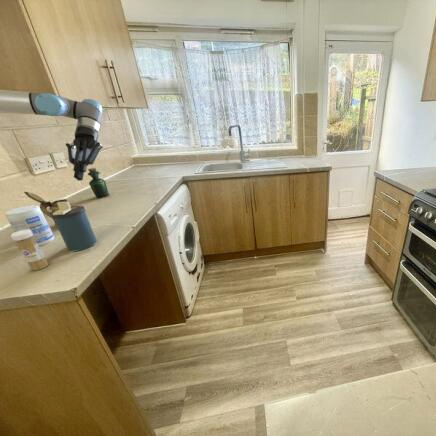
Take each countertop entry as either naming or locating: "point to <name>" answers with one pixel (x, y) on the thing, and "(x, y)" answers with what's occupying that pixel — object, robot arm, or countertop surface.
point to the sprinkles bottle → (30, 249)
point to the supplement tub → (31, 223)
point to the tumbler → (75, 229)
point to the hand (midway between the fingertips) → (78, 178)
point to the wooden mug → (46, 204)
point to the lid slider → (62, 208)
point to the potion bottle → (97, 184)
